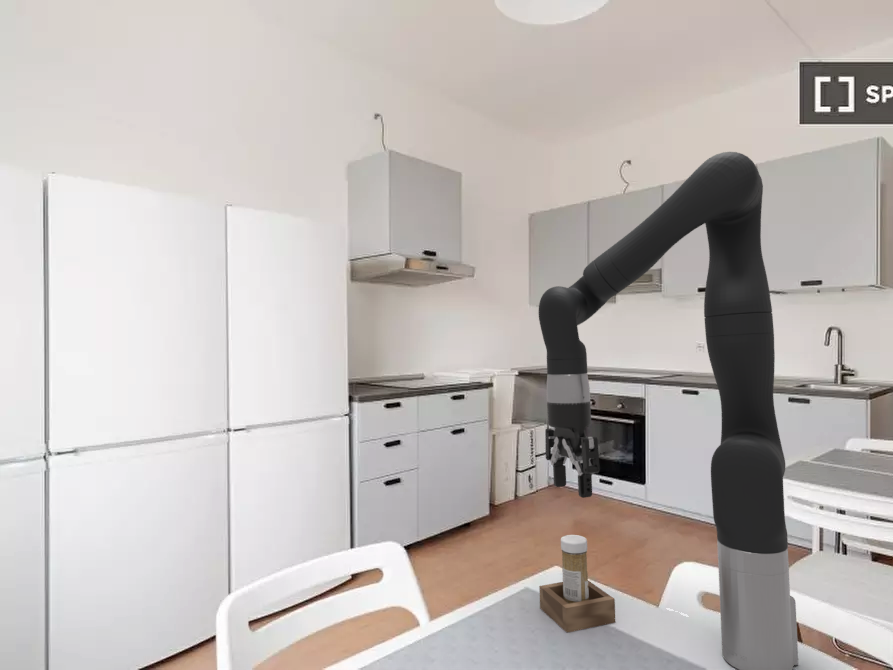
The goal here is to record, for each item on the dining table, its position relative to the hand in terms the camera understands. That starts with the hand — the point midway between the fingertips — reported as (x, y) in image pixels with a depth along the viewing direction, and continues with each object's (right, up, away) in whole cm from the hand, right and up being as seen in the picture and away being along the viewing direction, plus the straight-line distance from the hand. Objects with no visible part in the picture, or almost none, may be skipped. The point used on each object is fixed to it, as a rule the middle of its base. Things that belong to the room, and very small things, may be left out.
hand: (572, 491), depth 98 cm
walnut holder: (+1, -22, -1) cm, 22 cm away
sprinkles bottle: (+1, -22, -1) cm, 22 cm away
